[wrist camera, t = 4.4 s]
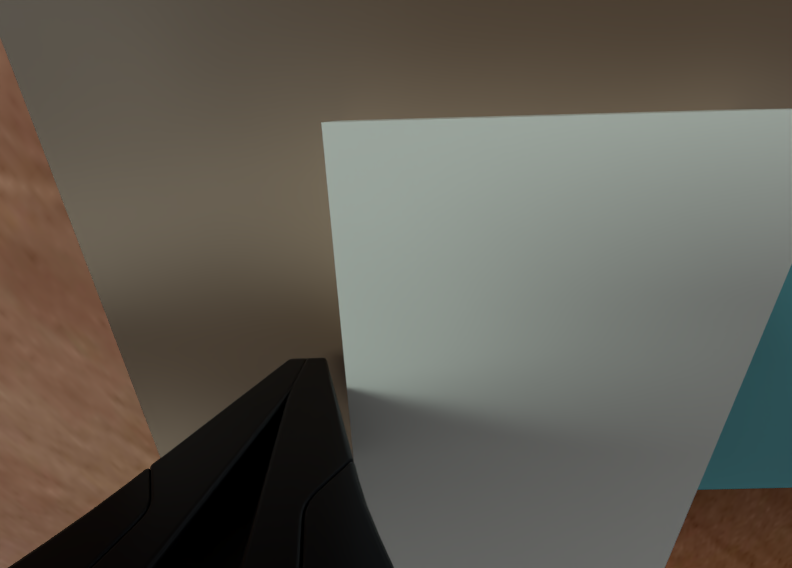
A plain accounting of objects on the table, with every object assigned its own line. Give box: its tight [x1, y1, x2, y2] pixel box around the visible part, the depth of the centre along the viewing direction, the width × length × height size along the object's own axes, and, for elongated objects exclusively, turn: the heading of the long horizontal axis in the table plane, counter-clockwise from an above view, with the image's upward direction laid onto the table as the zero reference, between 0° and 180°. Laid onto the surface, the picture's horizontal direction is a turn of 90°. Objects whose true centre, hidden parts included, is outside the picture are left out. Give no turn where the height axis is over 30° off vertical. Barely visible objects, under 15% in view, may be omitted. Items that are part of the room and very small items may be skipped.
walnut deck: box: [0, 0, 792, 460], centre depth 10 cm, size 20×14×3 cm
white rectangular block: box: [321, 109, 792, 568], centre depth 8 cm, size 10×7×2 cm
